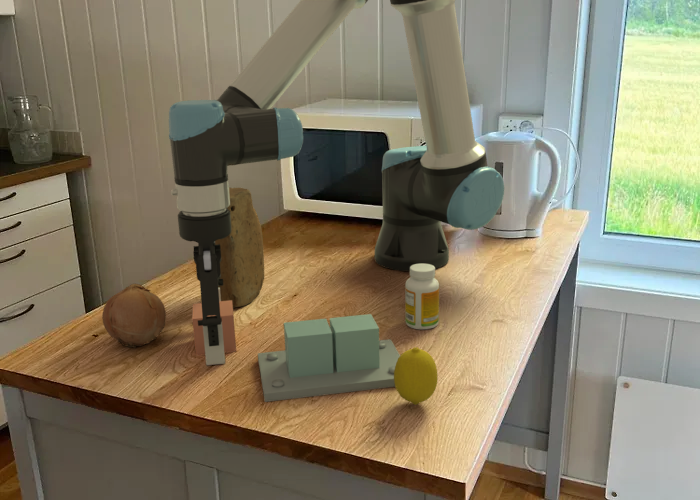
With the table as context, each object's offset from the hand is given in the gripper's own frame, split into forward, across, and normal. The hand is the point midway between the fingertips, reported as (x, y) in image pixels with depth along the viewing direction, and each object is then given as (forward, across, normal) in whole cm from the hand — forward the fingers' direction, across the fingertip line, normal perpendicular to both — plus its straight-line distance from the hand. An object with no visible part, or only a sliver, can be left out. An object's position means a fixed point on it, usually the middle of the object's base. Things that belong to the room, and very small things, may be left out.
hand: (215, 343), depth 110 cm
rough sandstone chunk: (0, -18, +4) cm, 18 cm away
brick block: (0, 0, 0) cm, 0 cm away
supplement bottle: (0, 0, +33) cm, 33 cm away
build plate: (0, +13, +16) cm, 21 cm away
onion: (+1, -4, -12) cm, 13 cm away
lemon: (0, +24, +25) cm, 35 cm away
